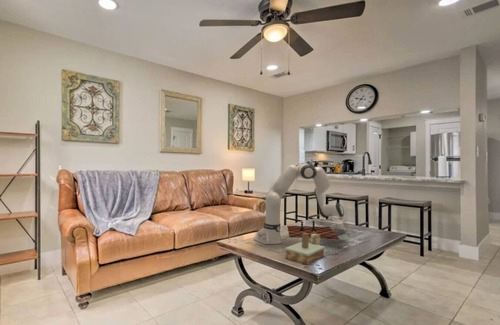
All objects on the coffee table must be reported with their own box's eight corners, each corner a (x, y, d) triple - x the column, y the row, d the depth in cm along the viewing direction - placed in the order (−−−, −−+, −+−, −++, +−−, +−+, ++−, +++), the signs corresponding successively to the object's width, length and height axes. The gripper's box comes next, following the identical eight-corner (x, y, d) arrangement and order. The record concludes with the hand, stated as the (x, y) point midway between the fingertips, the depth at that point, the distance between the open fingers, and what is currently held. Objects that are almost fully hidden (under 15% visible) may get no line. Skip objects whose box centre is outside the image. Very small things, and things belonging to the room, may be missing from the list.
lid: (285, 249, 172) (285, 234, 172) (302, 243, 188) (302, 228, 188) (308, 256, 161) (308, 239, 161) (324, 248, 176) (325, 233, 176)
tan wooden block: (310, 252, 184) (311, 234, 184) (314, 250, 188) (314, 233, 188) (316, 253, 181) (316, 236, 181) (319, 252, 185) (320, 234, 185)
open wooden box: (286, 257, 173) (286, 250, 173) (302, 250, 187) (302, 243, 187) (307, 264, 162) (308, 256, 162) (323, 256, 176) (323, 248, 176)
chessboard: (329, 227, 257) (329, 216, 257) (339, 239, 217) (339, 226, 217) (287, 226, 261) (287, 215, 261) (289, 238, 221) (289, 224, 221)
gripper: (320, 216, 211) (311, 219, 201) (346, 219, 197) (338, 223, 187) (320, 224, 211) (311, 227, 201) (346, 228, 197) (338, 232, 187)
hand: (324, 225), depth 194 cm, fingers open, 8 cm apart
